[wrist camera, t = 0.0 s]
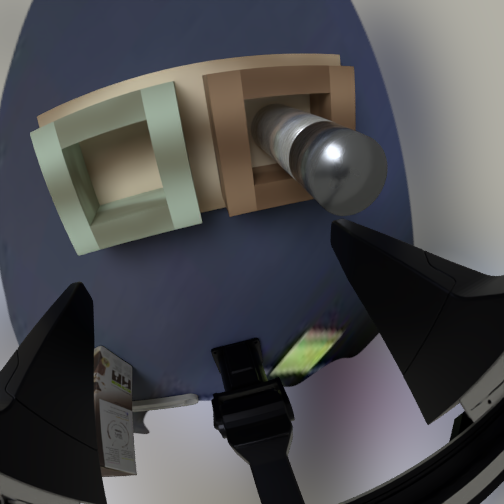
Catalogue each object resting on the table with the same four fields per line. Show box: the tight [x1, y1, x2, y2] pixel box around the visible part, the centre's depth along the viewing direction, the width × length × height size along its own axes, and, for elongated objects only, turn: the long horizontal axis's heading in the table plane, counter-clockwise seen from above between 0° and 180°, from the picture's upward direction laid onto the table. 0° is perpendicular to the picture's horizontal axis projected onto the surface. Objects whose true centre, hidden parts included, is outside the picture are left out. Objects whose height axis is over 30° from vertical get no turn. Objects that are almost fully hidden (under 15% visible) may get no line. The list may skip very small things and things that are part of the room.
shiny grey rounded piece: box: [251, 104, 387, 216], centre depth 16 cm, size 4×4×11 cm
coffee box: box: [94, 346, 137, 477], centre depth 27 cm, size 9×6×16 cm
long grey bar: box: [132, 394, 198, 412], centre depth 41 cm, size 25×6×2 cm, turn 89°
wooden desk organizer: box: [30, 54, 355, 256], centre depth 19 cm, size 12×24×4 cm, turn 96°
